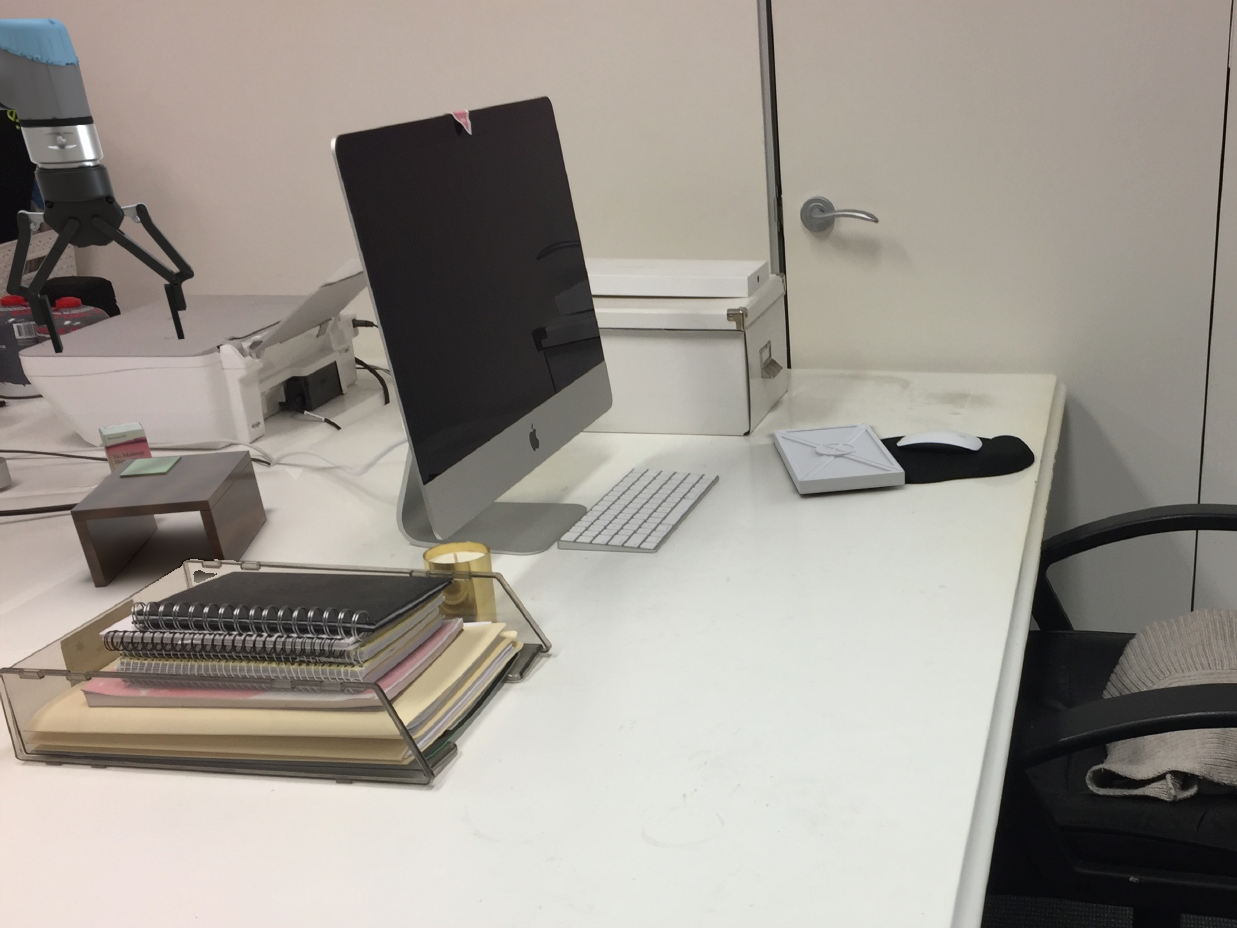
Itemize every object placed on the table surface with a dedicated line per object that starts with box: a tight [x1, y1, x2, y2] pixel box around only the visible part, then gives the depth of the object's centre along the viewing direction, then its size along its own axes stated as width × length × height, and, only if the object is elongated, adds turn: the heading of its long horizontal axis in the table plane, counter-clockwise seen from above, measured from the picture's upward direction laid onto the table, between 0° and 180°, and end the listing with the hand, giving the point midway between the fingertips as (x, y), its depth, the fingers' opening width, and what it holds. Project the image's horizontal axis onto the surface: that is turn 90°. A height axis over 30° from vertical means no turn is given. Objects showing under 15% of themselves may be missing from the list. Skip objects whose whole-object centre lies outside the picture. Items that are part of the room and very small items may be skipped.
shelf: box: [69, 449, 268, 588], centre depth 144 cm, size 14×18×9 cm
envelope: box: [772, 422, 906, 495], centre depth 168 cm, size 24×2×14 cm
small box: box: [97, 421, 153, 474], centre depth 167 cm, size 5×4×8 cm
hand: (121, 344), depth 156 cm, fingers open, 13 cm apart
